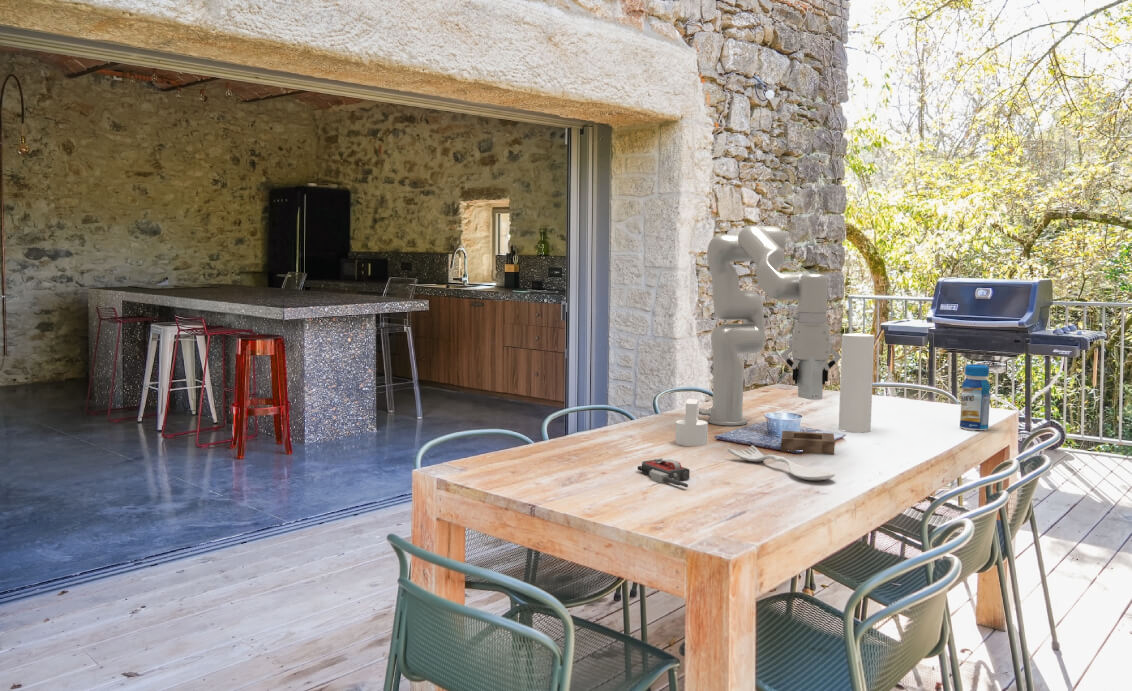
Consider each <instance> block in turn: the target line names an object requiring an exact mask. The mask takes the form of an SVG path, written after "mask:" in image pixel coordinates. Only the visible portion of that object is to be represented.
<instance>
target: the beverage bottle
mask: <svg viewBox="0 0 1132 691" xmlns="http://www.w3.org/2000/svg"><path fill="white" fill-rule="evenodd" d="M964 375H965V376H966V378H964V380H963V382H962V384H961V388H962V391H961V393H960V398H961V399H960V416H959V417H960V420H959V428H960V429H962V428H963V429H962V430H965V429H968V430H967V431H970V430H984V431H983V432H985V431H988V430H989V422H990V421H989V418H990V417H989V416H990V405H991V404H990V403H991V402H990V401H991V398H992V397H991V396H992V395H991V393H990V391H991V384H990V382H989V381H988V379H987V378H988V377H989V375H990V367H989V365H986V364H966V365H965V367H964Z"/></svg>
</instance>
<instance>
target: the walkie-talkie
mask: <svg viewBox="0 0 1132 691" xmlns="http://www.w3.org/2000/svg"><path fill="white" fill-rule="evenodd" d="M637 470H638V471H641V474H644V475H648V476H650V478H651V480H652V481H655V482H657V483H660V484H664V483H669V484H673V485H675V486H678V487H679V486H682V487H685V488H688V487H689V484H688V483H685V482H683V481H687V480H690V472H691V470H690V469H689V468H687V467H683V466H682V464H681V462H679V461H677V460H674V459H671V458H668V459H663V458H661V457H660V458H655V459H649V460H644V461H642V462H641V465H639V466H637Z"/></svg>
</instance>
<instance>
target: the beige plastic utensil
mask: <svg viewBox="0 0 1132 691" xmlns="http://www.w3.org/2000/svg"><path fill="white" fill-rule="evenodd" d="M726 450H727V452H728V453H729V454H731V455H733V456H736V457H738V458H741V459H743V460H746V461H749V462H754V463H757V462H758V463H759V462H762V461H765V460H769V459H770V460H774V461H776V462H781V463H784V464H786V465H787V466H788V471H789V472H790V474H791V475H793V476H795V477H796V478H799V479H802V480H804V481H809V482H810V481H815V482H816V481H823V480H829V479H832V478H834V477H835V476H836V473H834V472H829V471H824V470H819V469H816V468H812V467H807V466H804V465H800V464H797V463H795V462H793V461H792V460H789V459H787V458H786V457H784V456H779V455H776V454H766V455H764V454H763V453H761V451H760V450H759V449H758V448H757V447H756V446H755V445H752V444H751V446H750V447H747V448H745V449H744V450H742V449H740V450H738V449H731V448H729V447H728V448H727V449H726Z"/></svg>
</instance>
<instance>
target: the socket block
mask: <svg viewBox="0 0 1132 691" xmlns="http://www.w3.org/2000/svg"><path fill="white" fill-rule="evenodd" d="M835 443H836V442H835V434H834V433H831V432H830V433H829V432H827V433H826V432H813V431H812V432H811V431H793V430H782V433H781V439H780V452H783V453H784V452H789V453H792V452H791V451H795V450H803V452H802V453H803V454H817V455H818V454H819V455H831V456H833V455H835V445H836V444H835ZM788 450H789V451H788Z"/></svg>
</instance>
